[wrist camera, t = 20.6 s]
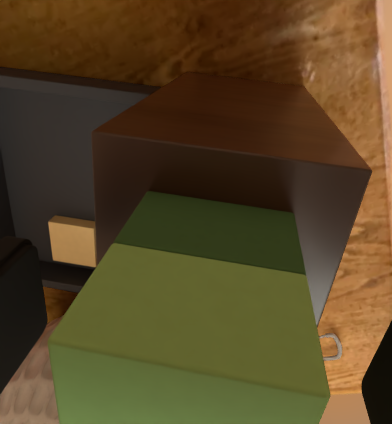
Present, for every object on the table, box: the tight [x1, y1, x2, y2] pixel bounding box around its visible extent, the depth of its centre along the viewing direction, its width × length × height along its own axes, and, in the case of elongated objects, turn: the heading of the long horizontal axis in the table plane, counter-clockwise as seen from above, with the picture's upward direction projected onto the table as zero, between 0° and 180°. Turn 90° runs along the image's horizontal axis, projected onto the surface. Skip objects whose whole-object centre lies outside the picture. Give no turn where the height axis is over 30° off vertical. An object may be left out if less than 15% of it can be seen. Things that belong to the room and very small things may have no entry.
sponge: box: [48, 191, 330, 424], centre depth 10 cm, size 6×4×6 cm
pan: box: [0, 67, 161, 293], centre depth 28 cm, size 18×14×3 cm
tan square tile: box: [48, 215, 97, 267], centre depth 31 cm, size 4×4×1 cm
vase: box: [0, 315, 64, 424], centre depth 30 cm, size 13×13×17 cm
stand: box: [91, 72, 372, 327], centre depth 19 cm, size 8×8×16 cm
